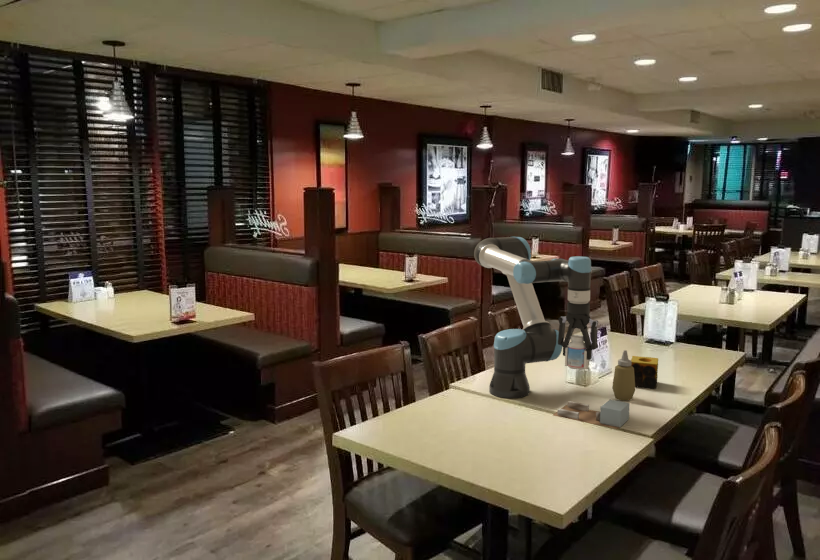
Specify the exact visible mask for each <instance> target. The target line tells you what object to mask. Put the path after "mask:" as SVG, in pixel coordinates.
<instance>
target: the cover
mask: <svg viewBox="0 0 820 560" xmlns="http://www.w3.org/2000/svg"><path fill="white" fill-rule="evenodd" d="M599 412H600V423H602V424H606V425H611V426H616V427H619V428H621V427H622V426H623V425H624V424H625V423H626V422H627V421H629V419H630V402H628V401H622V400H617V399H616V400H615V399H609V400H607V401H606V402H605V403H603V404H602V405H601V406H600V410H599Z"/></svg>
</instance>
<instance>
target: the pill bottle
mask: <svg viewBox="0 0 820 560" xmlns="http://www.w3.org/2000/svg"><path fill="white" fill-rule="evenodd" d="M585 350H586V346H585V342H584V339H583V335H582V334H572V335H571V339H570V342H569V345H568V366H567V368H569V369H572V370H579V371H580V370H585V369H584V351H585Z"/></svg>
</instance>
